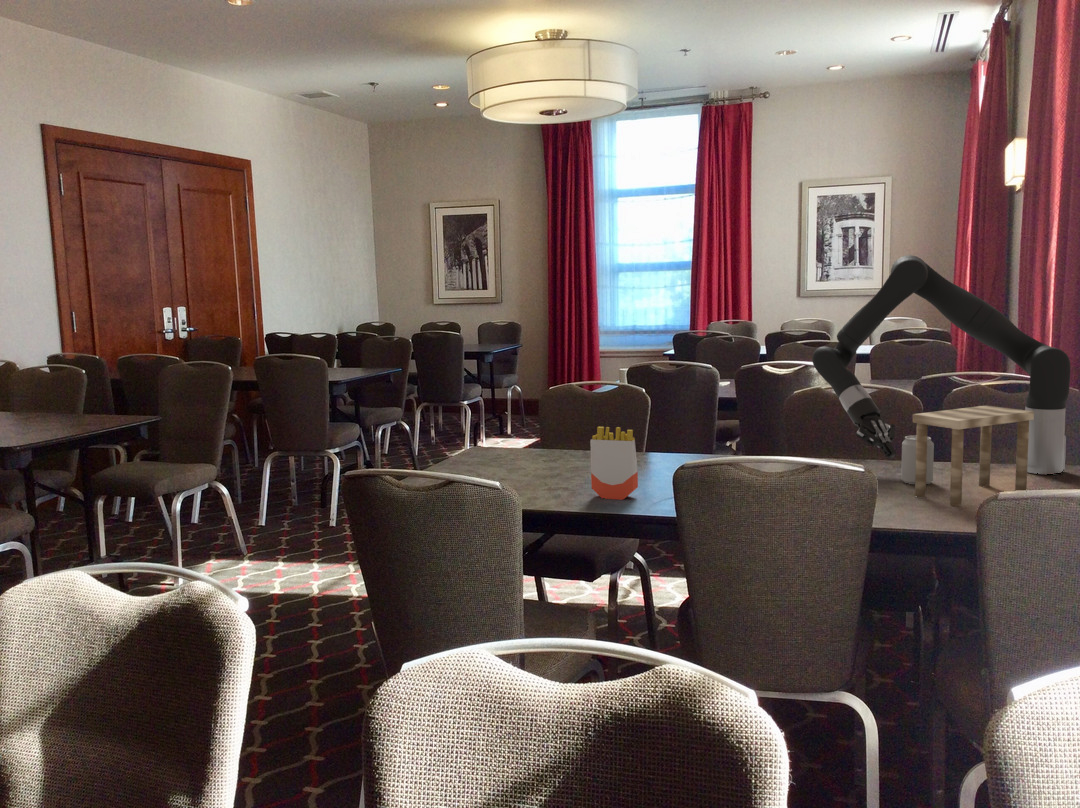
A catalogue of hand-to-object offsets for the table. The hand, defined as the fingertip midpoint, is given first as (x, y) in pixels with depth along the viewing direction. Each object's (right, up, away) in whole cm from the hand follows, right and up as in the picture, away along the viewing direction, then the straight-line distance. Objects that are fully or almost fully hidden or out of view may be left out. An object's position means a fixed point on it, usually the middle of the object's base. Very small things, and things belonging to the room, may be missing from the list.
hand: (892, 456), depth 232 cm
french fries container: (-74, -10, -11) cm, 76 cm away
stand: (+10, -8, -21) cm, 25 cm away
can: (+4, -7, -6) cm, 10 cm away
